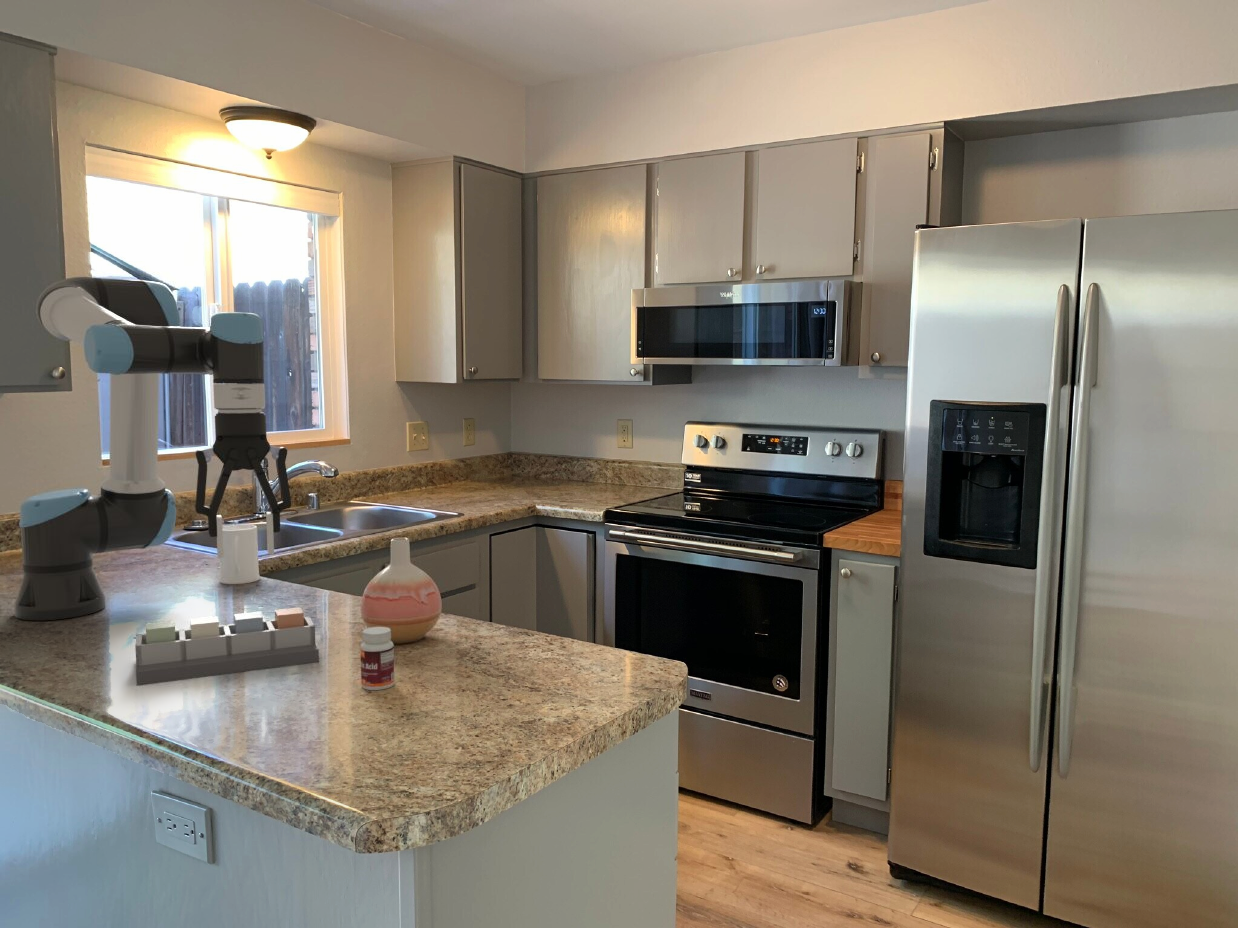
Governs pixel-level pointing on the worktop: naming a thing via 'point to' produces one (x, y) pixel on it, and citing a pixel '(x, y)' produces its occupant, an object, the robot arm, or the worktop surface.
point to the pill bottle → (377, 659)
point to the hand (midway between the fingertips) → (245, 554)
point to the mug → (239, 555)
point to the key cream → (204, 627)
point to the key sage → (160, 632)
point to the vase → (401, 598)
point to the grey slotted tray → (224, 652)
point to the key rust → (289, 618)
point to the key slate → (248, 622)
